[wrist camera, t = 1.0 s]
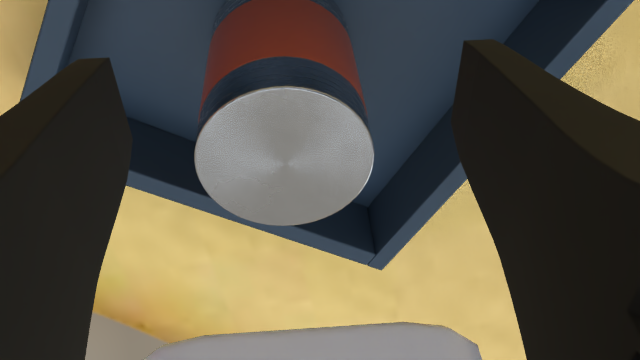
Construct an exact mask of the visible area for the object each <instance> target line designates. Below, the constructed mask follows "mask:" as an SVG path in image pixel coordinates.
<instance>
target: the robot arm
mask: <svg viewBox="0 0 640 360" xmlns="http://www.w3.org/2000/svg"><path fill="white" fill-rule="evenodd" d="M451 126H452V131H453V135H454V139H455V143H456V147H457V151H458V155H459V159H460V162H461V164H462V167H463V169H464V172H465V174H466V176H467V179H468V181H469V184H470V186H471V188H472V191H473V193H474V195H475V198H476V200H477V202H478V205H479V207H480V210H481V212H482V214H483V217H484V219H485V221H486V224H487V226H488V228H489V231H490V233H491V235H492V238H493V240H494V243H495V246H496V248H497V251H498V254H499V257H500V260H501V263H502V267H503V270H504V274H505V277H506V281H507V284H508V287H509V291H510V294H511V298H512V302H513V306H514V310H515V313H516V317H517V321H518V325H519V329H520V333H521V336H522V341H523V345H524V349H525V353H526V358H527V360H640V121H639V120H636V119H634V118H632V117H630V116H627V115H625V114H623V113H620V112H618V111H616V110H614V109H612V108H610V107H608V106H606V105H604V104H602V103H600V102H599V101H597V100H595V99H593V98H591V97H589V96H588V95H586V94H584V93H582V92H580V91H578V90H577V89H575V88H573V87H571V86H570V85H568V84H566V83H565V82H563V81H561V80H560V79H558V78H556V77H555V76H553V75H552V74H550V73H548V72H547V71H545V70H544V69H542V68H540V67H539V66H537V65H536V64H534V63H533V62H531V61H529V60H528V59H526V58H525V57H523V56H522V55H520V54H518V53H517V52H515V51H514V50H512V49H510V48H509V47H507V46H505V45H504V44H502V43H500V42H498V41H496V40H494V39H485V40H464V42H463V48H462V54H461V60H460V66H459V72H458V79H457V85H456V91H455V97H454V103H453V110H452V116H451ZM132 142H133V138H132V134H131V131H130V127H129V124H128V120H127V117H126V113H125V110H124V106H123V103H122V99H121V96H120V92H119V89H118V85H117V82H116V78H115V75H114V71H113V68H112V64H111V61H110V57H108V58H87V59H78V60H76V61H74V62H73V63H71V64H70V65H68V66H67V67H65V68H64V69H63V70H61V71H60V72H59V73H57V74H56V75H55V76H53V77H52V78H51V79H49V80H48V81H47V82H45V83H44V84H43V85H42V86H40V87H39V88H38V89H36V90H35V91H34V92H32V93H31V94H30V95H28V96H27V97H26V98H24V99H23V100H22V101H21V102H19V103H18V104H17V105H15V106H14V107H13V108H11V109H10V110H8V111H7V112H5V113H4V114H3V115H1V116H0V360H85V355H86V348H87V342H88V335H89V328H90V322H91V315H92V310H93V304H94V299H95V293H96V287H97V282H98V278H99V274H100V270H101V266H102V262H103V259H104V256H105V252H106V249H107V246H108V243H109V239H110V236H111V233H112V229H113V226H114V223H115V220H116V216H117V213H118V210H119V206H120V203H121V200H122V196H123V193H124V189H125V186H126V182H127V179H128V172H129V166H130V158H131V150H132ZM143 360H482V358H481V355H480V352H479V348H478V345H477V344H475V343H473V342H472V341H470V340H468V339H467V338H465V337H463V336H462V335H460V334H458V333H457V332H455V331H453V330H452V329H450V328H447V327H445V326H440V325H430V324H419V323H409V322H397V323H382V324H367V325H352V326H337V327H322V328H307V329H292V330H278V331H263V332H248V333H233V334H218V335H204V336H200V337H195V338H191V339H187V340H182V341H178V342H174V343H169V344H165V345H163V346H161V347H159V348H158V349H156V350H155V351H153V352H152V353H151V354H150V355H148V356H147V357H146V358H144V359H143Z"/></svg>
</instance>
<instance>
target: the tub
mask: <svg viewBox="0 0 640 360" xmlns="http://www.w3.org/2000/svg"><path fill="white" fill-rule="evenodd" d="M225 1H226V0H48V3H47V7H46V10H45V14H44V17H43V21H42V24H41V28H40V31H39V35H38V39H37V42H36V46H35V49H34V53H33V56H32V60H31V63H30V67H29V70H28V74H27V77H26V81H25V84H24V88H23V92H22V95H21V99H20V102H21V101H22V100H23V99H24V98H26V97H27V96H28V95H30V94H31V93H32V92H34V91H35V90H36V89H38V88H39V87H40V86H42V85H43V84H44V83H45V82H47V81H48V80H49V79H51V78H52V77H53V76H55V75H56V74H57V73H59V72H60V71H61V70H63V69H64V68H65V67H67V66H68V65H70V64H71V63H73V62H74V61H76V60H78V59H87V58H108V57H110V61H111V64H112V68H113V71H114V75H115V78H116V82H117V85H118V89H119V92H120V96H121V99H122V103H123V106H124V110H125V113H126V117H127V120H128V124H129V127H130V131H131V134H132V138H133V142H132V150H131V158H130V166H129V172H128V179H127V182H126V186H129V187H132V188H135V189H138V190H141V191H145V192H148V193H151V194H154V195H157V196H160V197H163V198H166V199H169V200H172V201H175V202H178V203H181V204H184V205H187V206H190V207H193V208H196V209H199V210H202V211H205V212H208V213H211V214H214V215H217V216H220V217H223V218H226V219H229V220H232V221H235V222H238V223H241V224H244V225H247V226H250V227H253V228H256V229H259V230H262V231H265V232H268V233H271V234H274V235H277V236H280V237H283V238H286V239H289V240H292V241H295V242H298V243H301V244H304V245H307V246H310V247H313V248H316V249H319V250H322V251H325V252H328V253H331V254H334V255H337V256H340V257H343V258H346V259H349V260H352V261H355V262H358V263H361V264H364V265H368V266H370V267H373V268H376V269H379V270H382V269H383V268H384V267H385V266H386V265H387V264H388V263H389V262H390V261H391V260H392V259H393V258H394V257H395V256H396V254H397V253H398V252H399V251H400V250H401V249H402V248H403V247H404V246H405V245H406V244H407V243H408V242H409V241H410V239H411V238H412V237H413V236H414V235H415V234H416V233H417V232H418V231H419V230H420V229H421V228H422V227H423V226H424V224H425V223H426V222H427V221H428V220H429V219H430V218H431V217H432V216H433V215H434V214H435V213H436V212H437V211H438V210H439V208H440V207H441V206H442V205H443V204H444V203H445V202H446V201H447V200H448V199H449V198H450V197H451V196H452V195H453V193H454V192H455V191H456V190H457V189H458V188H459V187H460V186H461V185H462V184H463V183H464V182H465V181H466V180H467V176H466V174H465V172H464V169H463V167H462V164H461V162H460V159H459V155H458V151H457V147H456V143H455V139H454V135H453V131H452V126H451V116H452V110H453V103H454V97H455V91H456V85H457V79H458V72H459V66H460V60H461V54H462V48H463V42H464V40H485V39H494V40H496V41H498V42H500V43H502V44H504V45H505V46H507V47H509V48H510V49H512V50H514V51H515V52H517V53H518V54H520V55H522V56H523V57H525V58H526V59H528V60H529V61H531V62H533V63H534V64H536V65H537V66H539V67H540V68H542V69H544V70H545V71H547V72H548V73H550V74H552V75H553V76H555V77H556V78H558V79H561V78H562V77H563V76H564V75H565V74H566V73H567V72H568V70H569V69H570V68H571V67H572V66H573V65H574V64H575V63H576V62H577V61H578V60H579V59H580V58H581V57H582V56H583V54H584V53H585V52H586V51H587V50H588V49H589V48H590V47H591V46H592V45H593V44H594V43H595V42H596V41H597V39H598V38H599V37H600V36H601V35H602V34H603V33H604V32H605V31H606V30H607V29H608V28H609V27H610V26H611V24H612V23H613V22H614V21H615V20H616V19H617V18H618V17H619V16H620V15H621V14H622V13H623V12H624V11H625V10H626V8H627V7H628V6H629V5H630V4H631V3H632V2H633V1H634V0H334V2H335V3H336V4H337V5H338V7H339V8H340V10H341V12H342V14H343V16H344V19H345V21H346V25H347V29H348V33H349V38H350V41H351V44H352V49H353V53H354V57H355V62H356V66H357V71H358V75H359V80H360V84H361V88H362V93H363V97H364V102H365V106H366V111H367V118H368V123H369V127H370V132H371V136H372V141H373V145H374V163H373V167H372V171H371V174H370V176H369V179H368V181H367V183H366V184H365V186H364V188H363V189H362V190H361V192H360V193H359V194H358V195H357V197H356V198H354V199H353V200H352V201H351V202H350V203H349V204H348V205H346V206H345V207H344V208H342V209H341V210H339V211H337V212H336V213H334V214H332V215H330V216H328V217H325V218H323V219H320V220H317V221H314V222H310V223H305V224H299V225H290V226H276V225H266V224H260V223H256V222H252V221H249V220H246V219H243V218H240V217H238V216H236V215H234V214H232V213H230V212H229V211H227V210H225V209H224V208H223V207H221V206H220V205H219V204H217V203H216V202H215V201H214V200H213V199H212V198H211V197H210V196H209V194H208V193H207V192H206V190H205V189H204V188H203V186H202V184H201V182H200V180H199V178H198V175H197V172H196V169H195V163H194V150H195V143H196V137H197V130H198V118H199V112H200V105H201V99H202V92H203V85H204V79H205V72H206V65H207V59H208V52H209V46H210V43H211V36H212V30H213V24H214V21H215V18H216V16H217V13H218V11H219V9H220V8H221V6H222V5H223V4H224V2H225Z"/></svg>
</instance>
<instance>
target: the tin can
mask: <svg viewBox="0 0 640 360" xmlns="http://www.w3.org/2000/svg"><path fill="white" fill-rule="evenodd" d="M194 163H195V169H196V172H197V175H198V178H199V180H200V182H201V184H202V186H203V188H204V189H205V190H206V192H207V193H208V194H209V196H210V197H211V198H212V199H213V200H214V201H215V202H216V203H217V204H219V205H220V206H221V207H223V208H224V209H225V210H227V211H229V212H230V213H232V214H234V215H236V216H238V217H240V218H243V219H246V220H249V221H252V222H256V223H260V224H266V225H276V226H290V225H299V224H305V223H310V222H314V221H317V220H320V219H323V218H325V217H328V216H330V215H332V214H334V213H336V212H337V211H339V210H341V209H342V208H344V207H345V206H346V205H348V204H349V203H350V202H351V201H352V200H353V199H354V198H356V197H357V195H358V194H359V193H360V192H361V190H362V189H363V188H364V186H365V184H366V183H367V181H368V179H369V176H370V174H371V171H372V167H373V163H374V145H373V141H372V136H371V132H370V127H369V123H368V118H367V111H366V106H365V102H364V97H363V93H362V88H361V84H360V80H359V75H358V71H357V66H356V62H355V57H354V53H353V49H352V44H351V41H350V38H349V33H348V29H347V25H346V21H345V19H344V16H343V14H342V12H341V10H340V8H339V7H338V5H337V4H336V3H335V2H334V0H226V1H225V2H224V4H223V5H222V6H221V8H220V9H219V11H218V13H217V16H216V18H215V21H214V24H213V30H212V36H211V43H210V46H209V52H208V59H207V65H206V72H205V79H204V85H203V92H202V99H201V105H200V112H199V118H198V130H197V137H196V143H195V150H194Z"/></svg>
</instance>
